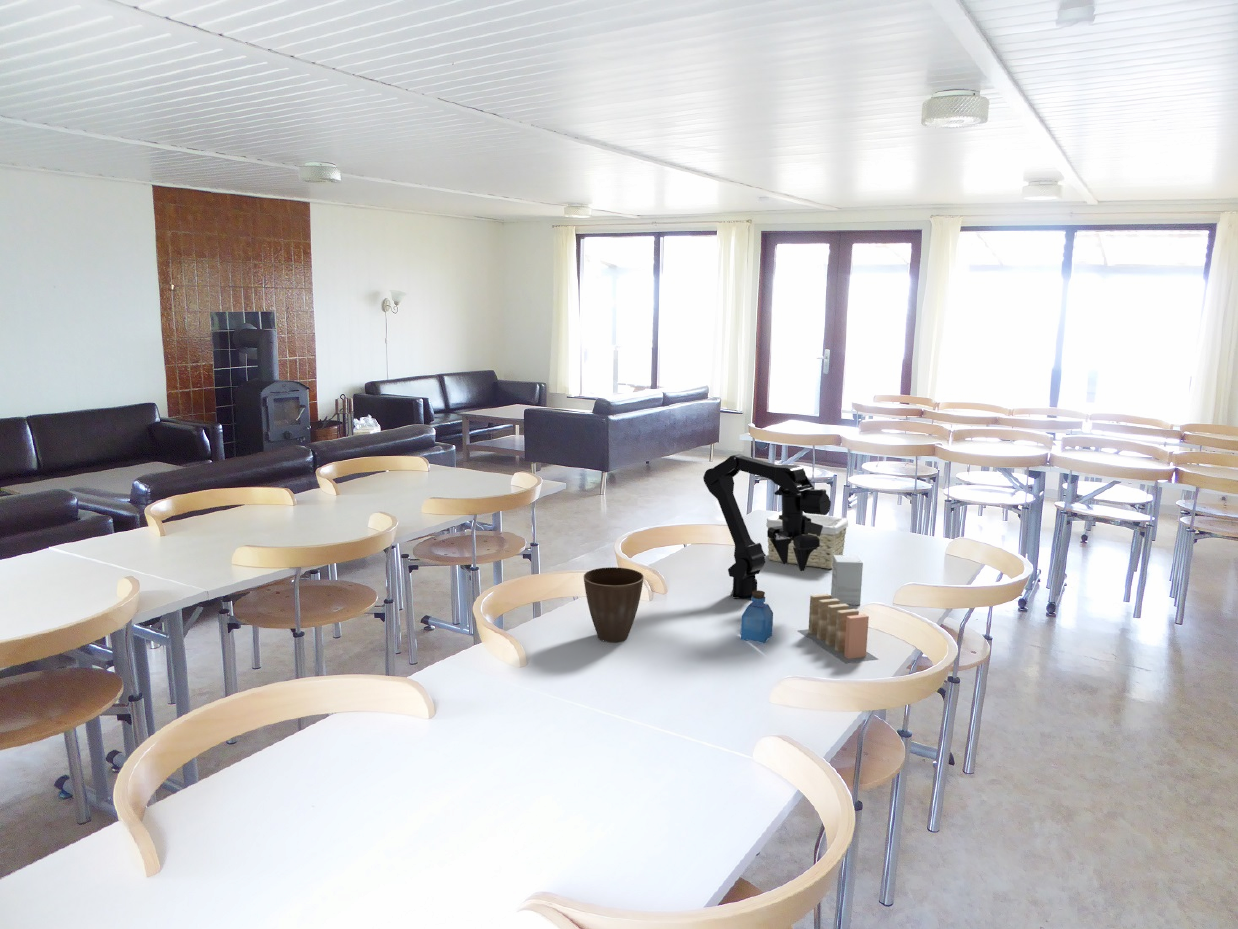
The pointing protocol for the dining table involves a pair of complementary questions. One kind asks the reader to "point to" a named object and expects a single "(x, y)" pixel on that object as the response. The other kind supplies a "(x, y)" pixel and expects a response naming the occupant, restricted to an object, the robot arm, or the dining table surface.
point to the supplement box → (846, 579)
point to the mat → (832, 650)
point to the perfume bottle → (757, 619)
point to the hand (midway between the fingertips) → (793, 567)
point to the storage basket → (829, 537)
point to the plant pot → (613, 600)
